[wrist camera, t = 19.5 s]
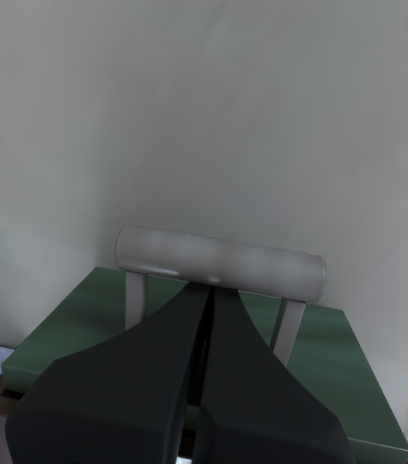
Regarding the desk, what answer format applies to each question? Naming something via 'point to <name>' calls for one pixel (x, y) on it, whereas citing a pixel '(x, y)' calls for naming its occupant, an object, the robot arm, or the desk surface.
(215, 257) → the drawer
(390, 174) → the desk surface
